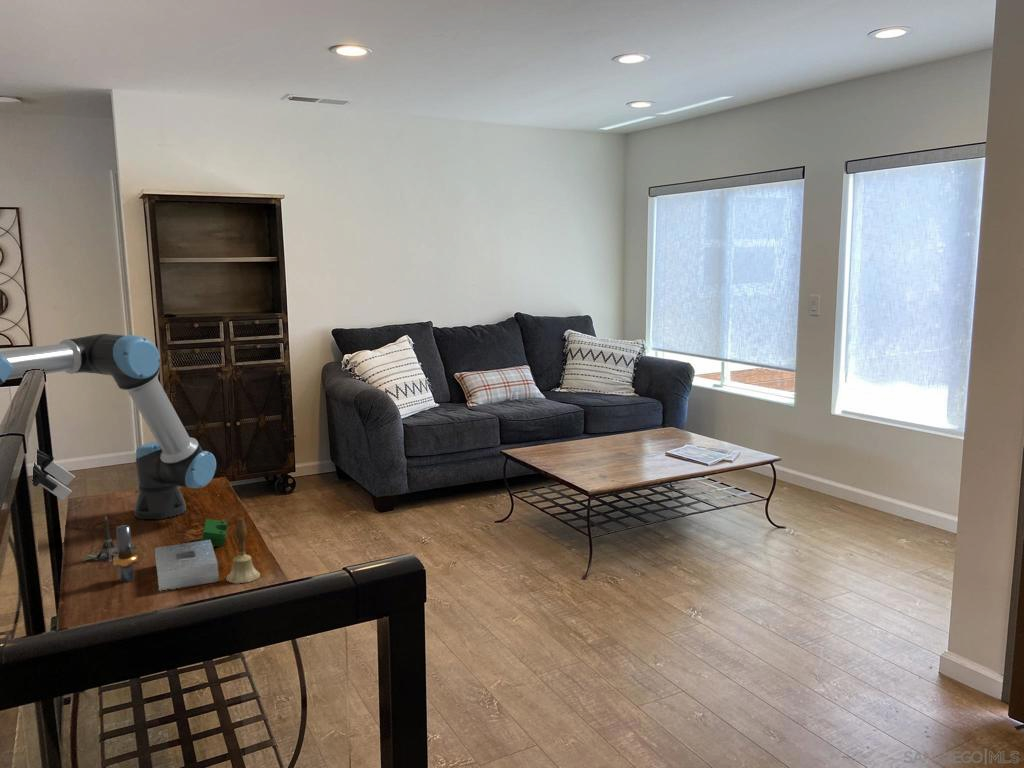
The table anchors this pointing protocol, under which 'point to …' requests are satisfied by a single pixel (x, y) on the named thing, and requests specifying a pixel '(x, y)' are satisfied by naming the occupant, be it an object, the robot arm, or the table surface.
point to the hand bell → (242, 559)
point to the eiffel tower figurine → (105, 548)
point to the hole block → (186, 565)
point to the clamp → (215, 532)
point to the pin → (125, 554)
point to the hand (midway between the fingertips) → (69, 488)
